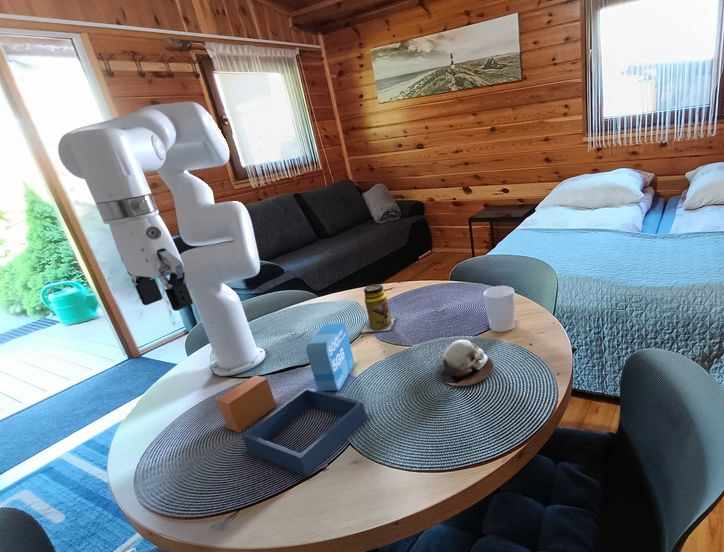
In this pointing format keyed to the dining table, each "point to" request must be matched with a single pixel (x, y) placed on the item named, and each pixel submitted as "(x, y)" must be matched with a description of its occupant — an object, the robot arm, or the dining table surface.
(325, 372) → the data package
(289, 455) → the bin
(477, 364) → the skull
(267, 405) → the block
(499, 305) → the white cup
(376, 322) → the condiment
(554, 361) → the dining table surface
